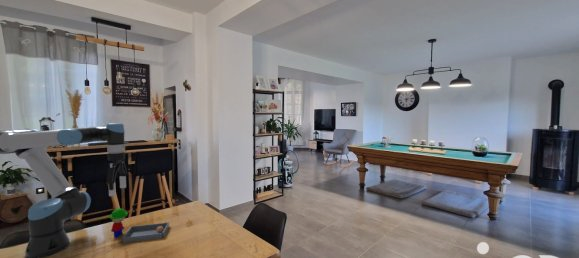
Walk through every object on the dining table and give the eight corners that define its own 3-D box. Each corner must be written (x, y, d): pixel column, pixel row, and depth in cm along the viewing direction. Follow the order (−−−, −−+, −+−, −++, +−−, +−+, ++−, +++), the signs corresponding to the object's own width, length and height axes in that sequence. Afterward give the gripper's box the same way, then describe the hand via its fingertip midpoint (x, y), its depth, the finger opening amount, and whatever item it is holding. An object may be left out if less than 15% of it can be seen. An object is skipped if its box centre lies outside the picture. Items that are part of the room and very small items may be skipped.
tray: (121, 244, 122) (121, 238, 122) (131, 231, 135) (131, 226, 135) (163, 238, 127) (163, 233, 127) (168, 227, 140) (168, 222, 140)
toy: (121, 239, 126) (120, 211, 125) (107, 239, 126) (105, 211, 125) (131, 232, 134) (130, 206, 133) (117, 232, 134) (116, 206, 133)
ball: (155, 234, 131) (155, 228, 130) (157, 231, 134) (157, 225, 134) (162, 233, 131) (162, 227, 131) (164, 230, 135) (164, 224, 135)
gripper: (114, 156, 116) (116, 198, 118) (132, 148, 140) (134, 184, 142) (96, 156, 114) (98, 200, 116) (118, 149, 138) (119, 185, 140)
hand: (118, 191), depth 129 cm, fingers open, 13 cm apart
